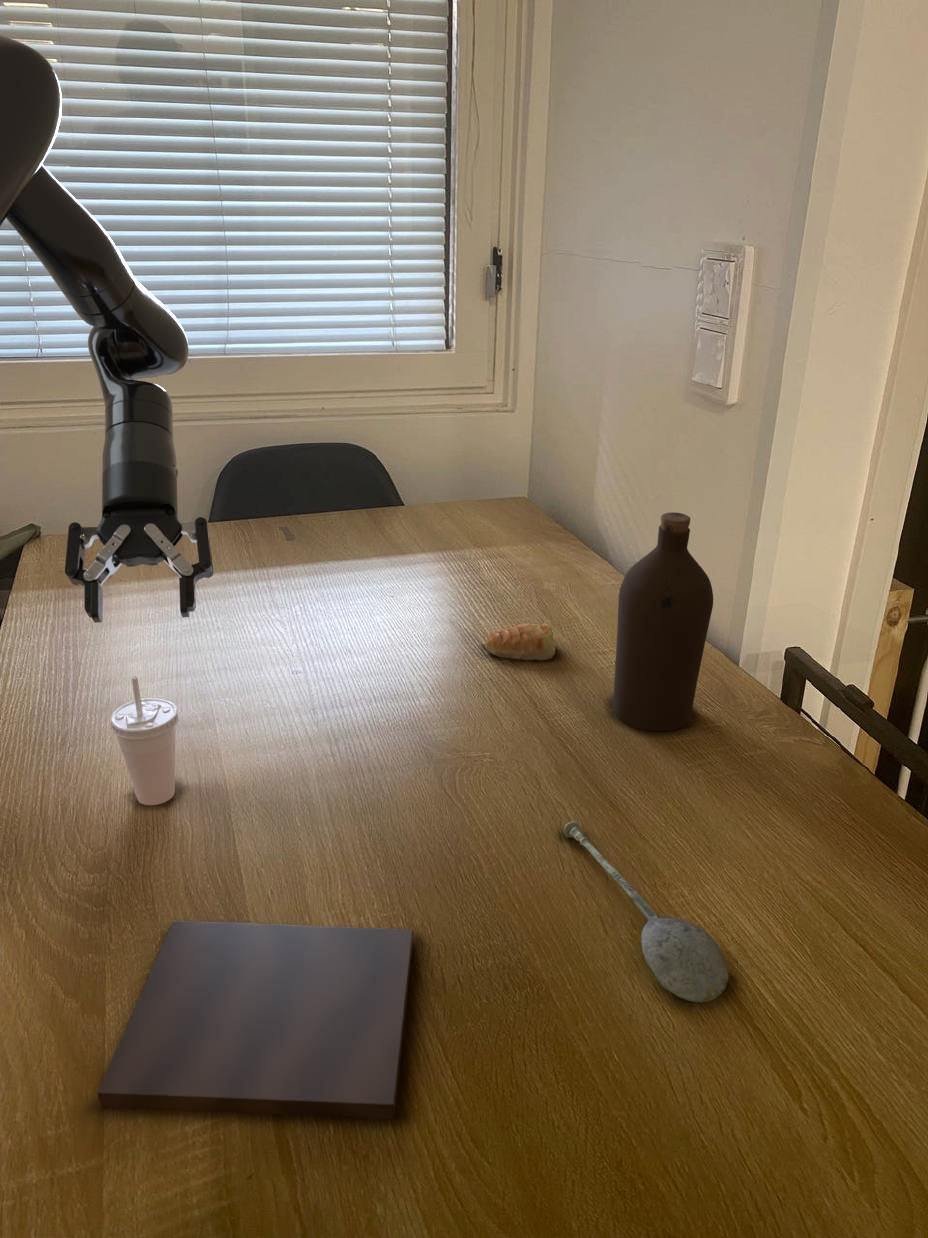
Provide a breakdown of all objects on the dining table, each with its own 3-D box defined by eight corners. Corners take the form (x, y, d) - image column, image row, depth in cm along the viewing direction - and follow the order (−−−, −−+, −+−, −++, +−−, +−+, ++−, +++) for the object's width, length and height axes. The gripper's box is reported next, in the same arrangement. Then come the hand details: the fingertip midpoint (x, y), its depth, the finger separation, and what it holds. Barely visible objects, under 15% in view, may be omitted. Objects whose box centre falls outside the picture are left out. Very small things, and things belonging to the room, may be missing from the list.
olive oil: (713, 727, 108) (745, 527, 97) (633, 742, 104) (657, 536, 94) (667, 685, 117) (691, 498, 106) (592, 697, 114) (610, 505, 103)
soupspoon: (672, 1021, 70) (740, 998, 73) (680, 989, 69) (749, 967, 71) (540, 841, 88) (599, 827, 90) (545, 813, 86) (604, 800, 89)
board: (100, 1108, 62) (97, 1093, 61) (174, 934, 76) (172, 920, 76) (394, 1120, 61) (393, 1105, 61) (413, 943, 76) (413, 929, 75)
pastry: (489, 664, 121) (490, 638, 119) (481, 642, 127) (482, 617, 125) (558, 661, 122) (559, 635, 121) (547, 639, 128) (548, 614, 127)
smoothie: (109, 804, 92) (88, 683, 86) (151, 771, 97) (133, 654, 91) (161, 820, 90) (143, 697, 84) (201, 785, 95) (186, 667, 89)
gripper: (60, 460, 92) (57, 609, 87) (204, 455, 95) (210, 599, 90) (77, 494, 99) (75, 634, 94) (212, 489, 102) (217, 625, 97)
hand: (141, 617), depth 92 cm, fingers open, 8 cm apart
